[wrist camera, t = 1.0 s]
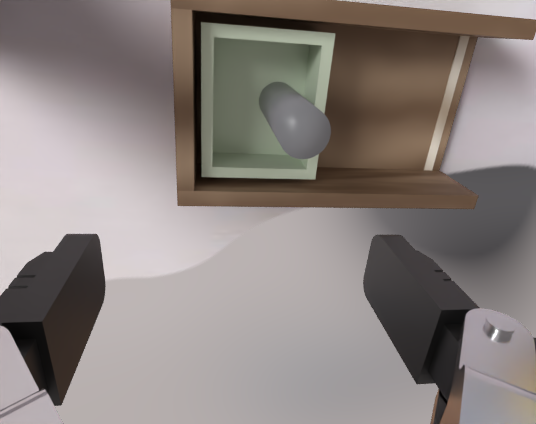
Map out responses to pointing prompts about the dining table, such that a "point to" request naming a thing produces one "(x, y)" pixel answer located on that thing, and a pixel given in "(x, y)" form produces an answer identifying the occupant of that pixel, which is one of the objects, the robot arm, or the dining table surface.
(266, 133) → the box
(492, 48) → the dining table surface
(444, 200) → the bay
